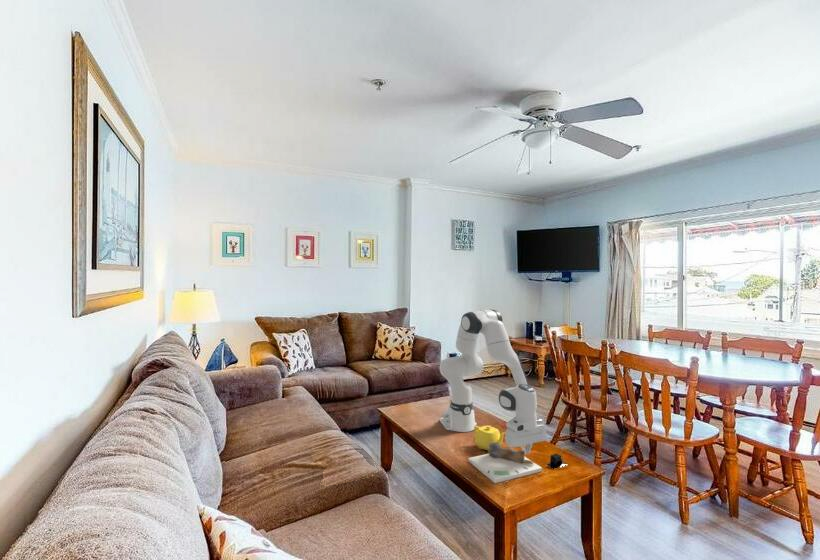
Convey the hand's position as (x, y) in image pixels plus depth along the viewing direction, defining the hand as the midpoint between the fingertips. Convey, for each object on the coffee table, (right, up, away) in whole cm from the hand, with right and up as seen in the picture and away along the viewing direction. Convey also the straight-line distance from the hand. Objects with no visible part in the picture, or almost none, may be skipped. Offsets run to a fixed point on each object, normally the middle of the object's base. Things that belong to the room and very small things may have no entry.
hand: (526, 453), depth 171 cm
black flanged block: (+13, -5, -1) cm, 14 cm away
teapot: (-13, -5, +15) cm, 21 cm away
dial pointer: (-7, -3, 0) cm, 7 cm away
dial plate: (-10, -5, -2) cm, 11 cm away
